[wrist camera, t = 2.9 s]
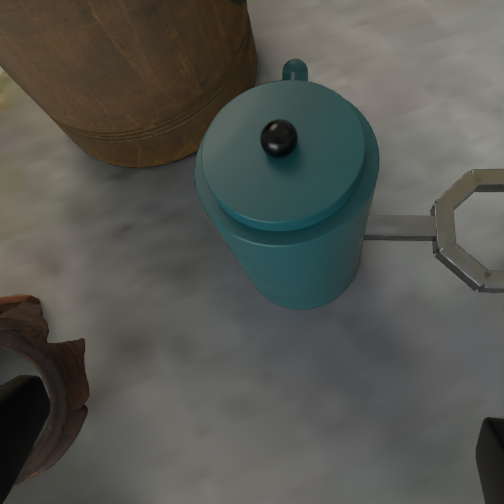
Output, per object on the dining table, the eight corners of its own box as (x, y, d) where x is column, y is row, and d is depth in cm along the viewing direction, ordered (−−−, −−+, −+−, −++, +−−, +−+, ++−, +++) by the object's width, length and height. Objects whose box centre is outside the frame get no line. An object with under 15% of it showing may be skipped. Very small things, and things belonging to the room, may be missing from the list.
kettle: (539, 321, 20) (793, 229, 9) (240, 306, 23) (161, 223, 12) (515, 157, 23) (686, -61, 12) (254, 162, 26) (200, -11, 15)
